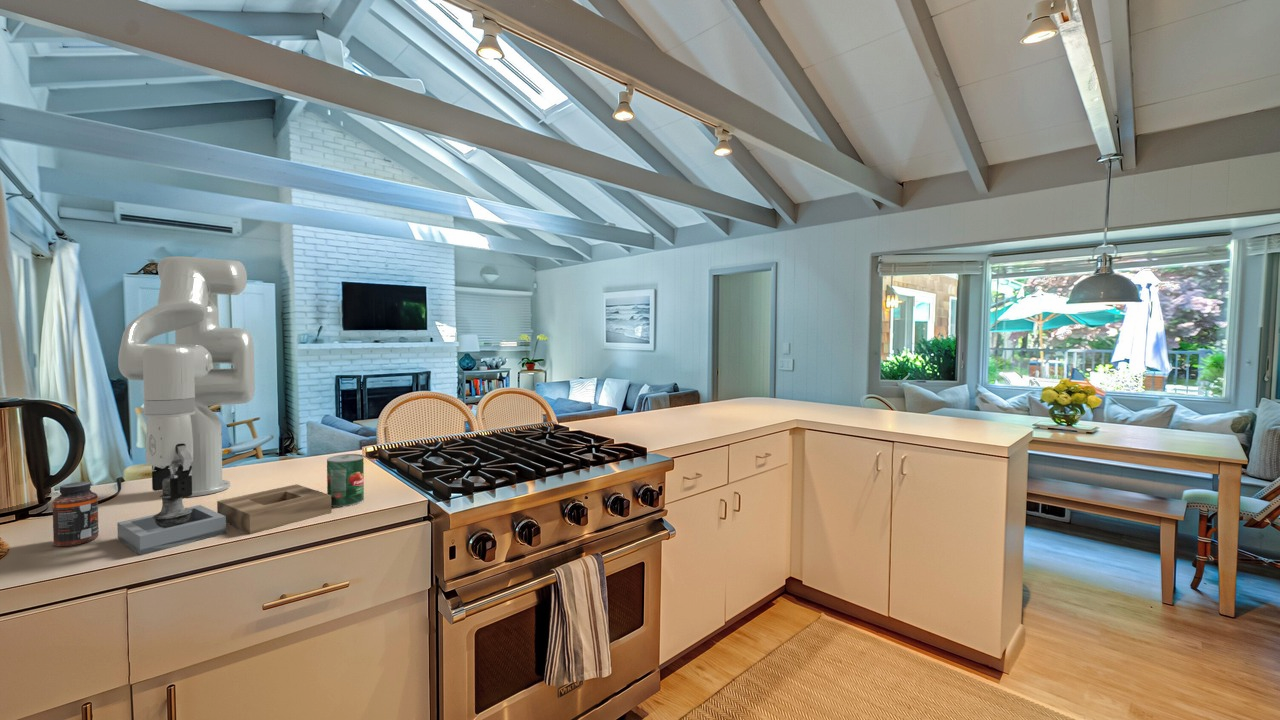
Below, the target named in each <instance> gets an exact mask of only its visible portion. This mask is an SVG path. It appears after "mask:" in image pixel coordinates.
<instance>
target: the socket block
mask: <svg viewBox="0 0 1280 720" xmlns="http://www.w3.org/2000/svg"><path fill="white" fill-rule="evenodd" d="M216 504H217V506H216V507H217V508H216V509H217V510H216V512H217V513H219V514H222V515H224V516H226V525H230V526H232V527H234V528H236V529H238V530H240V531H243V532H245V533H247V534H250V535H251V534H252V535H253V534H256V533H259V532H263V531H267V530H270V529H274V528H279V527H282V526H286V525H289V524H293V523H297V522H300V521H304V520H308V519H311V518H315V517H316V518H317V517H319V515H320V516H323V514H324V515H326V514H330V513H332V507H331V495H329V494H327V493H326V492H323V491H319V490H317V489H313V488H309V487H306V486H305V485H304V486H303V485H300V484H291V485H287V486H282V487H276V488H273V489H268V490H262V491H259V492H258V491H257V492H254V493H249V494H243V495H240V496H239V495H238V496H235V497H229V498H225V499H220V500H217V501H216Z"/></svg>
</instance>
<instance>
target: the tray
mask: <svg viewBox="0 0 1280 720" xmlns="http://www.w3.org/2000/svg"><path fill="white" fill-rule="evenodd" d="M185 508H186V509H191V510H192V512H191V513H190V517H189V519H188V521H187V522H185V523H184V524H182V525H177V526H173V527H169V528H164V529H163V528H161V527H159V526H158V525H157V524H156V523H155V519H153V516H154V515H156V514H157V513H156V514H152V515H147V516H141V517H136V518H133V519H132V518H131V519H127V520H123V521H118V522H116V523H117V524H116V526H117V541H118V540H119V542H120V543H121V542H122V543H121V544H123V545H124V544H125V545H124V546H125V547H128V548H129V549H130V550H132V551H133V552H135V553H136V554H137V555H139V556H142V555H147V554H151V553H154V552H158V551H163V550H166V549H170V548H174V547H177V546H183V545H187V544H190V543H193V542H197V541H201V540H206V539H209V538H213V537H216V536H221V535H225V534H227V523H226V516H224V515H222V514H219V513H217V511H215V510H213V509H210V508H207V507H206V506H203V505H201V504H199V505H194V506H190V507H189V506H188V507H185Z"/></svg>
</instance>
